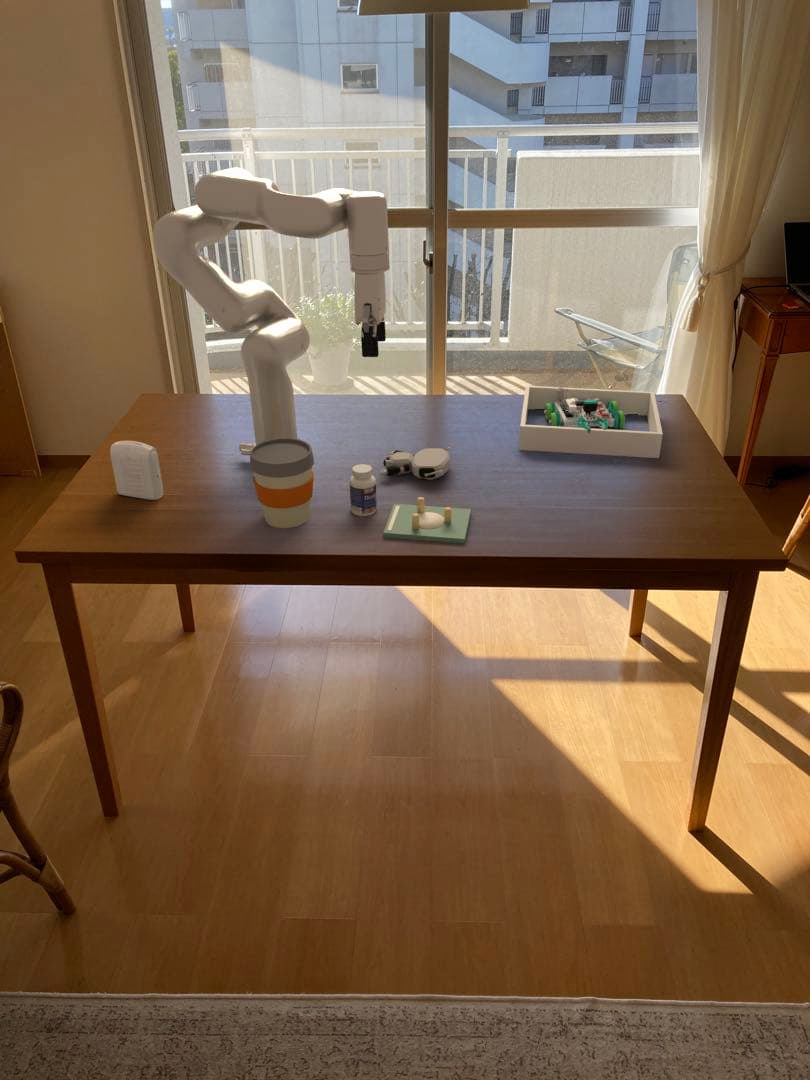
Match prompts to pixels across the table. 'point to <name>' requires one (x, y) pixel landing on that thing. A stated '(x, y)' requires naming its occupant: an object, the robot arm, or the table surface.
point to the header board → (427, 523)
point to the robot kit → (583, 412)
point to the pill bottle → (363, 491)
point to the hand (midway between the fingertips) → (374, 348)
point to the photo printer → (136, 470)
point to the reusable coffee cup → (283, 480)
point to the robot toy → (418, 463)
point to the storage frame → (598, 438)
